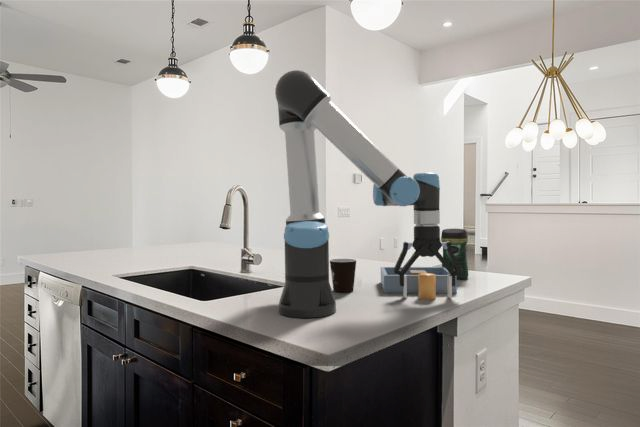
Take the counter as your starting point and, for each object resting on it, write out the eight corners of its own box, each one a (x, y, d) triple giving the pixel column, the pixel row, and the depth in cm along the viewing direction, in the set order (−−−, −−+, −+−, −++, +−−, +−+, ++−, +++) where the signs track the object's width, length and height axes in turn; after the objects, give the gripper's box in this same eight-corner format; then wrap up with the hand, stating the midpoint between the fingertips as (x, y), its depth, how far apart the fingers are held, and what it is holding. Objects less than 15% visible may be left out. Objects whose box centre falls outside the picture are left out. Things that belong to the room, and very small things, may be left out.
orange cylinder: (437, 299, 126) (437, 276, 125) (419, 299, 126) (419, 275, 126) (434, 296, 131) (434, 273, 130) (417, 296, 131) (417, 273, 131)
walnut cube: (427, 288, 138) (427, 272, 137) (411, 288, 138) (411, 272, 138) (424, 285, 143) (424, 270, 142) (409, 285, 143) (409, 270, 143)
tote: (456, 293, 134) (456, 275, 134) (384, 292, 136) (384, 275, 136) (444, 282, 153) (444, 267, 152) (380, 282, 154) (380, 267, 154)
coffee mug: (354, 294, 135) (354, 262, 134) (327, 293, 136) (327, 261, 136) (359, 287, 146) (358, 257, 146) (334, 286, 148) (333, 257, 148)
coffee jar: (469, 277, 163) (469, 228, 163) (466, 280, 156) (466, 229, 156) (443, 275, 168) (443, 227, 167) (439, 278, 160) (439, 228, 160)
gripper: (465, 224, 131) (466, 294, 131) (384, 225, 133) (384, 294, 133) (472, 225, 123) (472, 300, 124) (385, 226, 125) (386, 299, 125)
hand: (427, 297), depth 128 cm, fingers open, 12 cm apart
